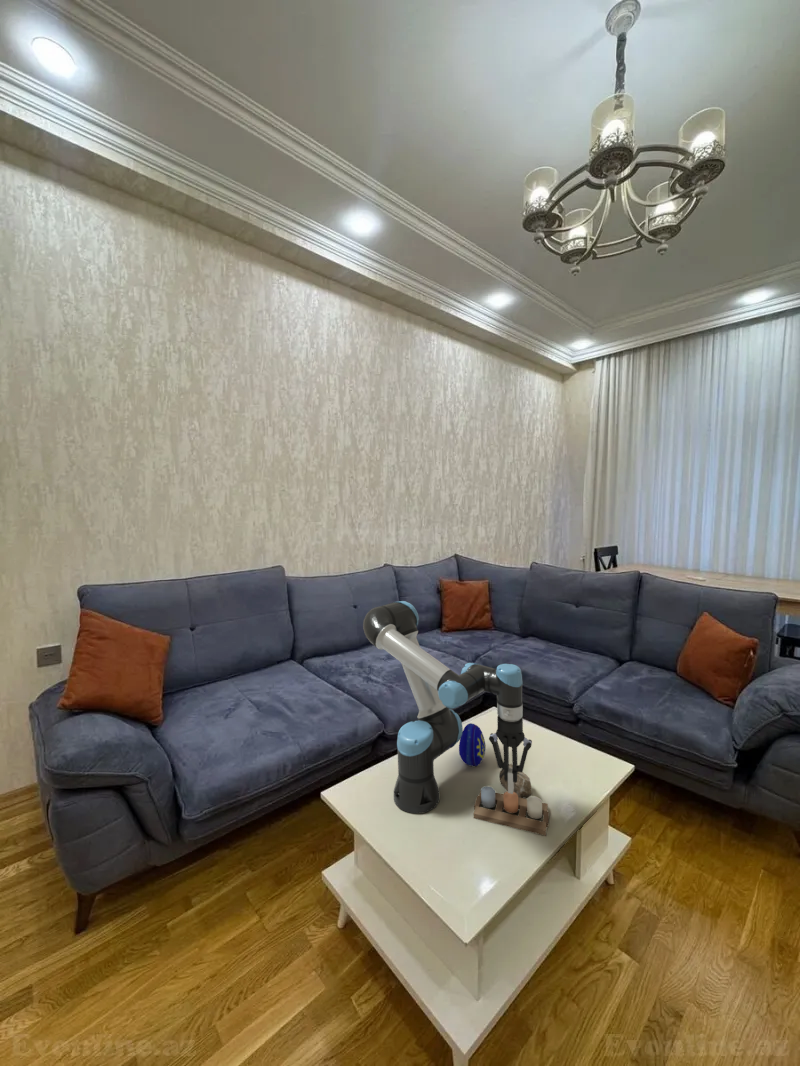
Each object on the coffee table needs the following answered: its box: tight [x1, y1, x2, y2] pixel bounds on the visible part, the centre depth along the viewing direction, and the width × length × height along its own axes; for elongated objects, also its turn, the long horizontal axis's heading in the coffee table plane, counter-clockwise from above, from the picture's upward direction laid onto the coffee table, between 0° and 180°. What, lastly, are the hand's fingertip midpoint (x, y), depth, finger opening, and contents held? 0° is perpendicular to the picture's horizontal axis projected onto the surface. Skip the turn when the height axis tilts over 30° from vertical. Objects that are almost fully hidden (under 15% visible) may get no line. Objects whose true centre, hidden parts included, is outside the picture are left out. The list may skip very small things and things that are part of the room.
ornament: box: [458, 722, 487, 767], centre depth 159 cm, size 11×9×15 cm
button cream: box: [526, 795, 543, 820], centre depth 130 cm, size 4×4×4 cm
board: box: [473, 790, 550, 836], centre depth 133 cm, size 22×12×2 cm, turn 68°
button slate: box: [480, 786, 496, 809], centre depth 135 cm, size 4×4×4 cm
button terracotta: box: [503, 791, 519, 814], centre depth 133 cm, size 4×4×4 cm
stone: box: [499, 763, 533, 799], centre depth 143 cm, size 7×12×7 cm, turn 35°
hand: (511, 790), depth 132 cm, fingers closed
